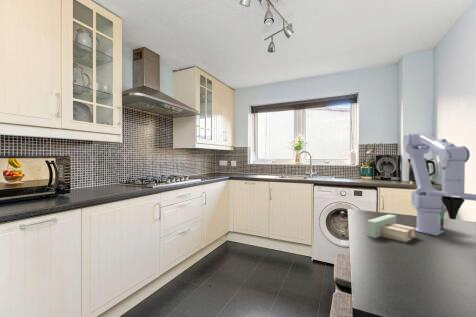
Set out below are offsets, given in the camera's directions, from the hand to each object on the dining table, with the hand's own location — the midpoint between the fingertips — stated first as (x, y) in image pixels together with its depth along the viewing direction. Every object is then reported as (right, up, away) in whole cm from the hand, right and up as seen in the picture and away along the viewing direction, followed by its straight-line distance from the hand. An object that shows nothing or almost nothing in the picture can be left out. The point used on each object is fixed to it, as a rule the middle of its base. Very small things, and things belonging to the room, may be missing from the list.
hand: (452, 218), depth 78 cm
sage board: (-17, -9, +13) cm, 23 cm away
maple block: (-13, -10, +8) cm, 18 cm away
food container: (+14, -10, +22) cm, 28 cm away
